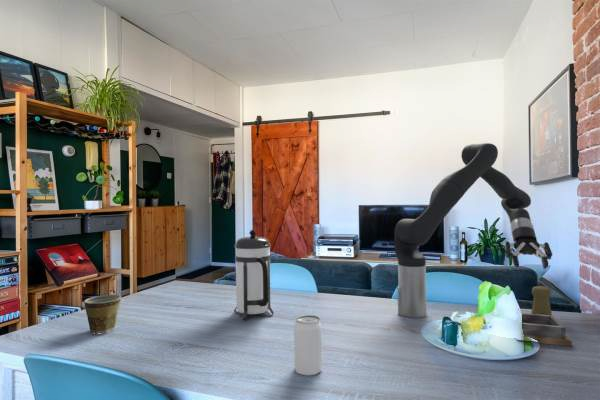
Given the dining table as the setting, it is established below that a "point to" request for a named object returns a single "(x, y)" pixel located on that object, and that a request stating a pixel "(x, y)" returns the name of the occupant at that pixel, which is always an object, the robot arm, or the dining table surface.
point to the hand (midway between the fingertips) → (531, 266)
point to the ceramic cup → (102, 312)
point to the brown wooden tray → (545, 329)
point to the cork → (541, 300)
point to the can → (308, 345)
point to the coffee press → (252, 275)
